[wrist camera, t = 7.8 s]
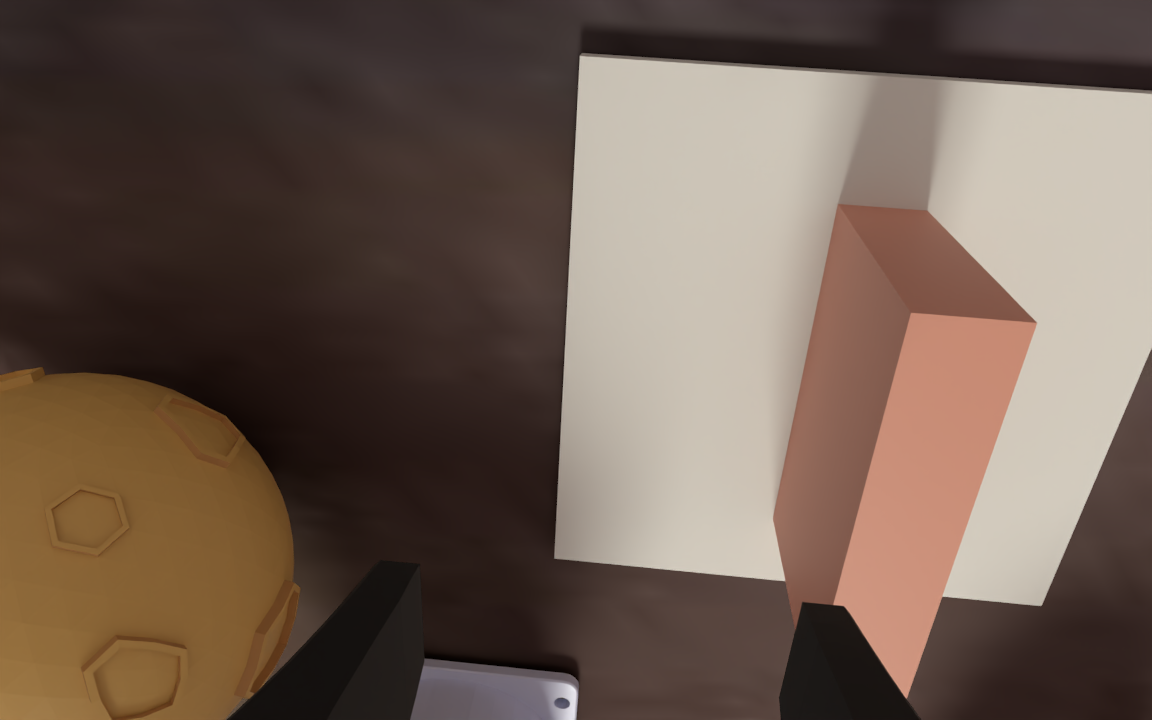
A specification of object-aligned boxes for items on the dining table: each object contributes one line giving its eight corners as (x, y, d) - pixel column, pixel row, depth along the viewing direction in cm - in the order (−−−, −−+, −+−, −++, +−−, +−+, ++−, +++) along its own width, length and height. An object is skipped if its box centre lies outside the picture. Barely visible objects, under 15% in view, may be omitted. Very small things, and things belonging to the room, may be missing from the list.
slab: (845, 525, 23) (904, 706, 17) (772, 518, 23) (808, 696, 17) (927, 210, 18) (1037, 322, 13) (838, 203, 19) (911, 313, 13)
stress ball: (202, 583, 28) (363, 767, 22) (-190, 713, 21) (-122, 1041, 15) (196, 301, 25) (383, 420, 18) (-267, 344, 18) (-223, 558, 11)
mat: (1034, 593, 24) (1041, 606, 23) (556, 547, 25) (554, 558, 24) (1240, 96, 17) (1256, 101, 17) (581, 53, 18) (580, 55, 18)
